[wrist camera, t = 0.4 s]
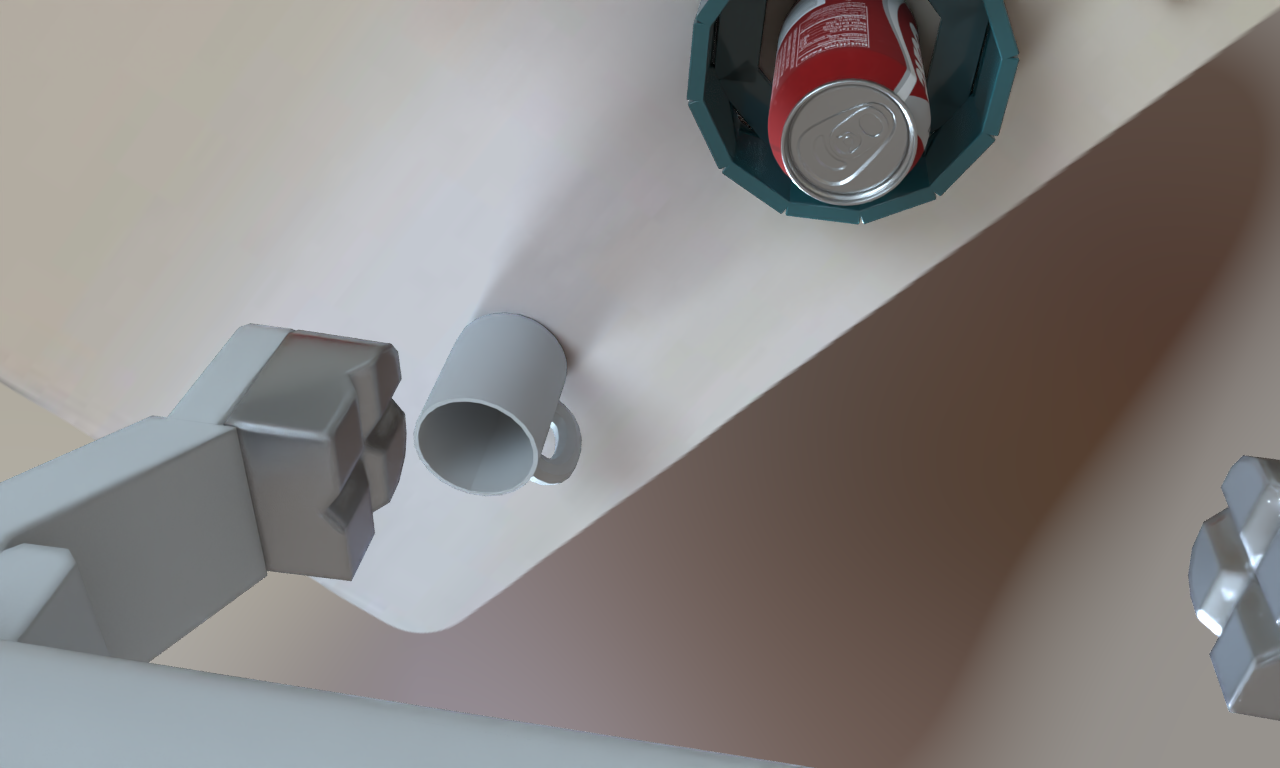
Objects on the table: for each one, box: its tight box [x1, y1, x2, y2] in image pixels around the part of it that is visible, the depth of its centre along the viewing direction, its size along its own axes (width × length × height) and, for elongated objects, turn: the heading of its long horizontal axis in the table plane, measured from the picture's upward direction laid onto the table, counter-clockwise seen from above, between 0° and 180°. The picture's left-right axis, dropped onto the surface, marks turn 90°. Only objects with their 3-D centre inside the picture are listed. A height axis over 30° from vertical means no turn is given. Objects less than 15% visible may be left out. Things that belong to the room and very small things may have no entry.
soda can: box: [768, 0, 931, 206], centre depth 50 cm, size 7×7×12 cm
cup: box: [413, 313, 582, 496], centre depth 67 cm, size 7×10×9 cm
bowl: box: [687, 0, 1019, 224], centre depth 53 cm, size 15×15×5 cm
